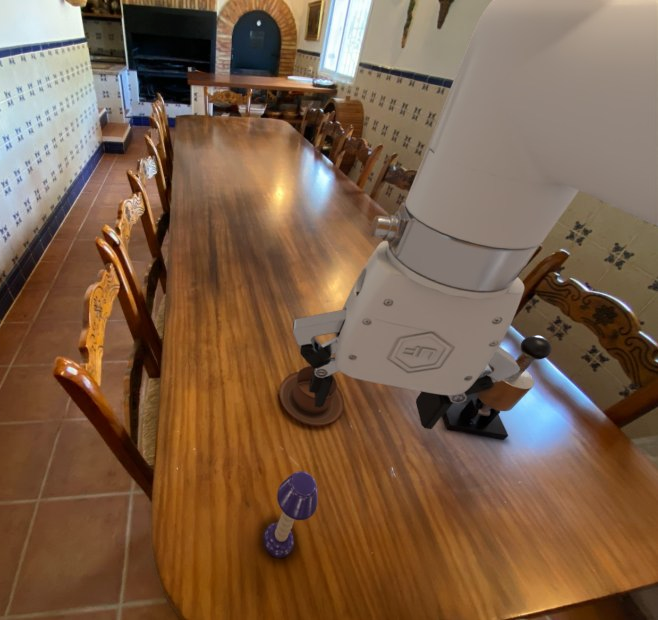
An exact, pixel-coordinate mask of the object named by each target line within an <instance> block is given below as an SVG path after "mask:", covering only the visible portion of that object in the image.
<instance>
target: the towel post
mask: <svg viewBox="0 0 658 620" xmlns="http://www.w3.org/2000/svg"><path fill="white" fill-rule="evenodd" d="M519 348H520V352H521V353H520V354H519V356H518V357H517V358H516V359H515V360H516V362H517V364H518V366H519V367H520V371H519V372H518V373H517V374H515V375H512V376H510V377H508V378H506V379H504V380H502V381H500V382H495V383H494V386H493V387H492V388H491V389H489V390H485V391H481V392H478V393H475V394H476V395H477V397H478V398H479V399H480V400H481V402H480V403H479V404H478V405H479V408H480V409H479V410H478V412H477V413H476V415H481V416H489V415H490V410H491V408H493V409H495V410H498V411H500V412H509V411H511V410H513V408H514V407H515V406H516V405H518V403H519V402H520V401H521V400H522V399H523V398H524V397H525V396H526V395H527V394H528V393H529V392H530V390H531V389H533V387H534V386H535V379H534V377H533V375H532V374H531V373H530V372H529V371H528V368H529V367H530V366H531V365H532V363H533V362H534V361H535V360H536V361H537V360H544V359H545V358H547V357H549V356H550V355H551V353H552V349H553V347H552V344H551V343H550V340H548V339H547V338H545V337H543V336H541V335H530V336H527V337H525V338H524V339H522V341H521V342H520V347H519Z"/></svg>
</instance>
